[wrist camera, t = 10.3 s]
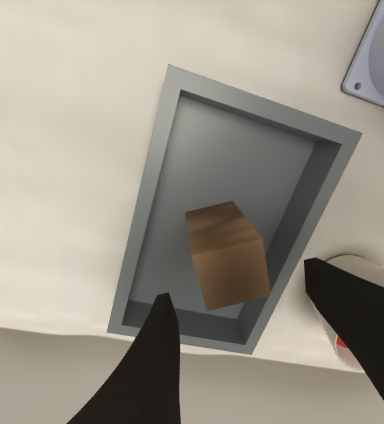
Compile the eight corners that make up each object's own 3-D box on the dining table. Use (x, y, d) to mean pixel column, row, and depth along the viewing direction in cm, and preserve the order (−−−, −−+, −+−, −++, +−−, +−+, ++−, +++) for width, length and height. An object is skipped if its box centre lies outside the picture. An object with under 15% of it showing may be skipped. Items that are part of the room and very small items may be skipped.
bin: (325, 131, 19) (362, 133, 15) (239, 320, 25) (251, 354, 22) (169, 77, 17) (168, 64, 13) (117, 298, 23) (106, 332, 19)
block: (232, 200, 19) (262, 238, 13) (239, 242, 21) (270, 295, 14) (185, 212, 20) (191, 256, 13) (196, 253, 21) (206, 311, 14)
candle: (390, 240, 23) (464, 280, 17) (369, 312, 26) (426, 367, 21) (301, 247, 23) (347, 289, 17) (291, 319, 26) (326, 377, 20)
